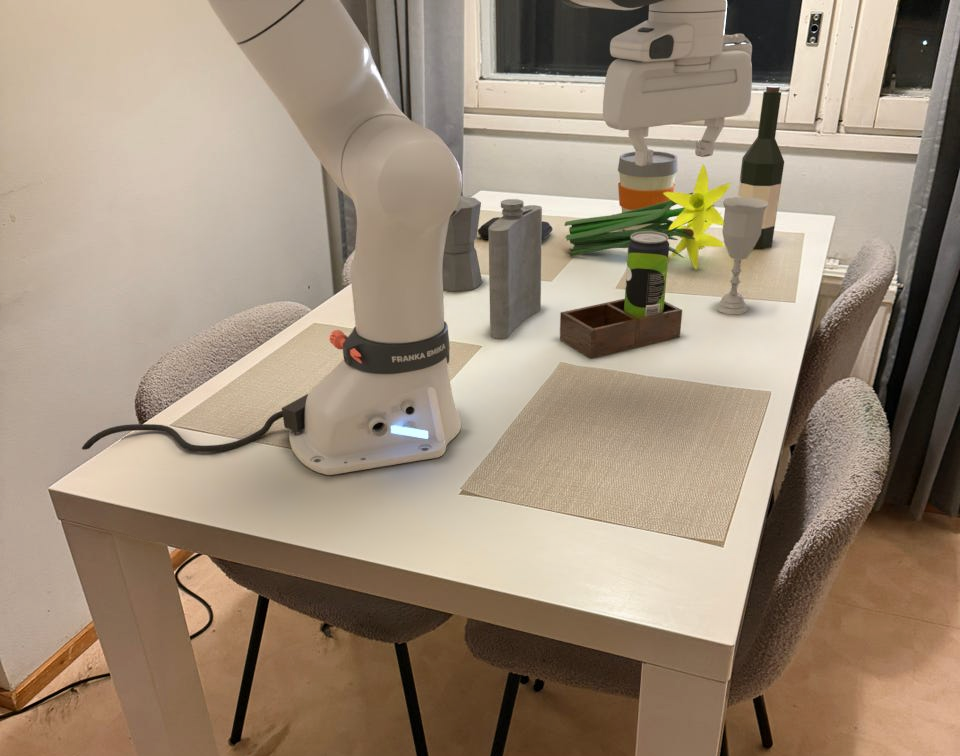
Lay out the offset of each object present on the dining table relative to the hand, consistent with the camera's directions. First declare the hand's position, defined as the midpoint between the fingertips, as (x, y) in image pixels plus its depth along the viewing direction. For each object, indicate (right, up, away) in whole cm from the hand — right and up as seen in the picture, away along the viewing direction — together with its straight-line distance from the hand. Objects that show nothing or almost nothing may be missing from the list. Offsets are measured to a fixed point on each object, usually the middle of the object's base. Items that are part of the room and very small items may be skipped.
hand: (674, 160), depth 113 cm
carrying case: (-17, +12, +81) cm, 84 cm away
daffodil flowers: (+7, +3, +64) cm, 65 cm away
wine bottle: (+32, +9, +73) cm, 81 cm away
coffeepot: (-28, -3, +57) cm, 63 cm away
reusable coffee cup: (+12, +15, +85) cm, 87 cm away
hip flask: (-19, -14, +39) cm, 45 cm away
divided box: (-2, -17, +31) cm, 36 cm away
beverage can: (+2, -16, +33) cm, 36 cm away
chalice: (+19, -11, +42) cm, 47 cm away
